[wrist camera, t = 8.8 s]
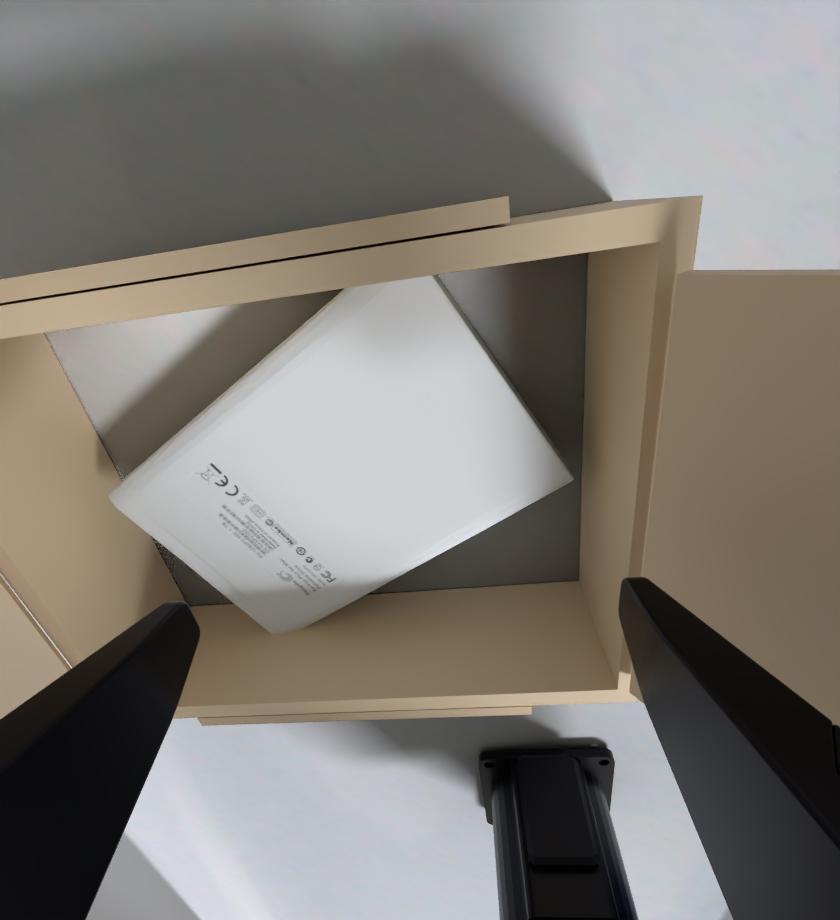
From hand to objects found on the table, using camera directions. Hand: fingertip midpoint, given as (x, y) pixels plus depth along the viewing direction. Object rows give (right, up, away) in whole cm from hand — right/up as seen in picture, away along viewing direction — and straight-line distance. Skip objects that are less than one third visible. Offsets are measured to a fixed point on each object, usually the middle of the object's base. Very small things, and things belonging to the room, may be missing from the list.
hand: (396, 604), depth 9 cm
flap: (+7, +1, -1) cm, 7 cm away
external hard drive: (-2, +3, +6) cm, 7 cm away
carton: (-2, +3, +6) cm, 7 cm away
